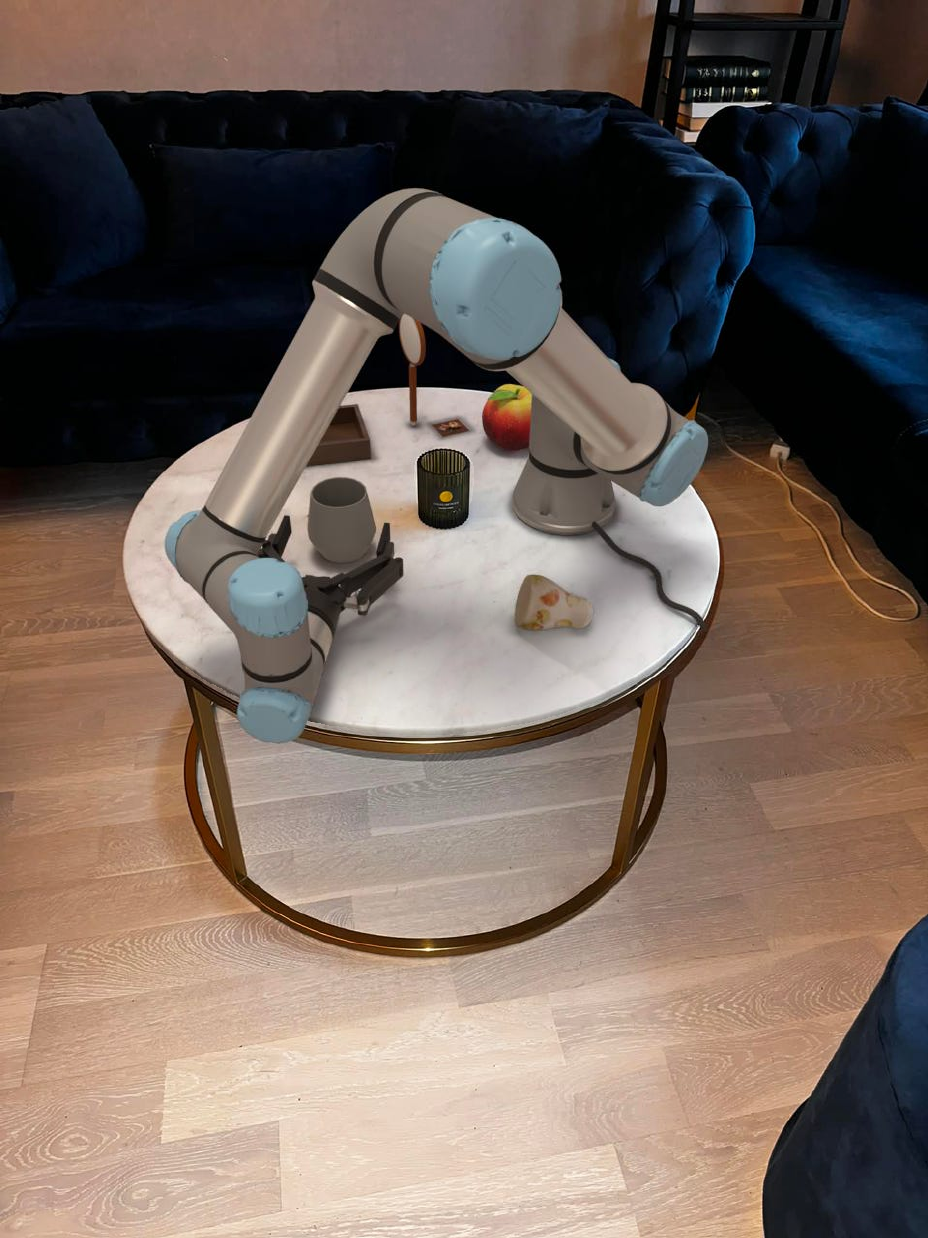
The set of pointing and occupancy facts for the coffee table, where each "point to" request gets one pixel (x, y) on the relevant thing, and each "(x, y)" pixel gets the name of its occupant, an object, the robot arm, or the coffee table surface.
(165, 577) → the coffee table surface
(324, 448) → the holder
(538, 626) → the beige spotted lump
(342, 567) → the coffee table surface
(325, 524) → the cup
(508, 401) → the fruit
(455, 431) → the picture card
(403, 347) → the magnifying glass
